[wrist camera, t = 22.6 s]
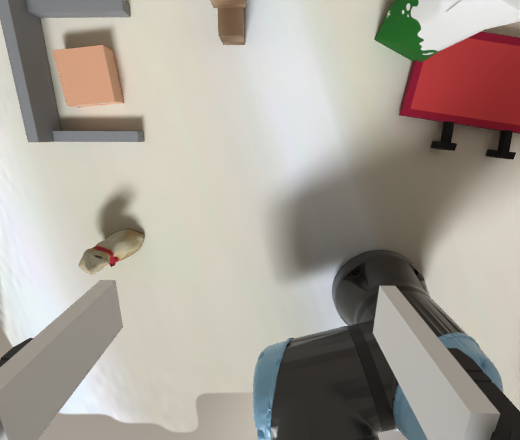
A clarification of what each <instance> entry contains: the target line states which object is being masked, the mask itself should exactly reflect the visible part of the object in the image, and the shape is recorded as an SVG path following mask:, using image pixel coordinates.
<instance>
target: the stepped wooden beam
mask: <svg viewBox="0 0 520 440" xmlns="http://www.w3.org/2000/svg"><path fill="white" fill-rule="evenodd" d="M210 1H211V3H212V5H213V7H214V8H218V30H219V37H220V39H221V41H222V43H223V45H245V7H246V0H210Z"/></svg>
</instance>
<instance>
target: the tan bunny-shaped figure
mask: <svg viewBox="0 0 520 440" xmlns="http://www.w3.org/2000/svg"><path fill="white" fill-rule="evenodd" d="M143 240H144V234H143V233H138V232H136V231H134V230H131V229H126V230H121V231H118V232H115V233H114V234H112V235H111V236H109V237H108V238H107V239H105V240H104V241H102V242H100V243H98V244H97V245H96V246H95V247H93V248H91V249H88V250H86V251H85V252H84V255H83V257H82V259H81V261H80V263H79V267H80V268H81V269H82V270H83V271H85V272H86V273H89V274H90V275H93V274H95V273H96V272H98V271H100V270H101V269H102V268H104V266H106V265H107V264H110V266H111V267H112V266H114V265H115V263H116V262H118V261H121V260H123V259H125V258H127V257H129V256H131V255H132V254H134V253H135V252H136V251H138V250H139V249H140V247H141V246H142V243H143Z"/></svg>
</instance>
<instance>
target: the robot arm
mask: <svg viewBox="0 0 520 440" xmlns="http://www.w3.org/2000/svg"><path fill="white" fill-rule="evenodd" d="M332 296H333V301H334V304H335V307H336V309H337V312H338V314H339V315H340V317H341V318H342V320H343V321H344V322H345V323H346V324H347V325H348V326H344V327H340V328H336V329H332V330H328V331H324V332H320V333H316V334H312V335H308V336H304V337H299V338H295V339H294V338H289V339H288V340H287V341H284V342H281V343H278V344H274V345H271V346H268V347H267V348H265V349H264V350H263V351H262V352H261V354H260V356H259V358H258V361H257V364H256V368H255V373H254V383H253V408H254V419H255V426H256V428H257V430H258V440H379V438H378V433H379V432H383V431H388V430H393V429H399V431H401V433H402V434H403V435H404V436H405V437H406V438H407V439H408V440H520V411H519V410H518V409H517V408H516V407H515V406H514V405H513V404H512V402H511V401H510V400H509V399H508V398H507V397H506V396H505V395H504V394H503V386H502V381H501V378H500V375H499V373H498V371H497V369H496V367H495V366H494V365H493V363H492V362H491V361H490V360H489V358H488V357H487V356H486V355H485V354H484V353H483V351H482V350H481V349H480V347H479V345H478V344H477V343H476V341H475V340H474V339H473V338H472V337H470V336H468V335H467V334H466V333H465V332H464V331H463V330H462V329H461V328H460V327H459V326H458V325H457V324H456V323H455V322H454V321H453V320H452V319H451V318H450V317H449V316H448V315H447V314H446V313H445V312H444V311H443V310H442V309H441V308H440V307H439V306H438V305H437V304H436V303H435V302H434V301H433V300H432V299H431V298H430V296H429V293H428V290H427V287H426V284H425V281H424V278H423V276H422V274H421V273H420V271H419V270H418V269H417V268H416V267H415V266H414V265H413V264H412V263H411V262H410V261H409V260H408V259H406V258H405V257H403V256H402V255H400V254H397V253H395V252H391V251H384V250H377V251H370V252H366V253H363V254H360V255H358V256H356V257H354V258H353V259H351V260H350V261H348V262H347V263H346V264H345V265H344V266H343V267H342V268H341V269H340V271H339V272H338V274H337V276H336V278H335V280H334V283H333V288H332ZM122 327H123V324H122V318H121V312H120V306H119V300H118V294H117V287H116V281H115V280H100V281H99V282H98V283H97V284H95V285H94V286H93V287H92V288H91V289H90V290H89V291H87V292H86V293H85V294H84V295H83V296H82V297H81V298H79V299H78V300H77V301H76V302H75V303H74V304H73V305H71V306H70V307H69V308H68V309H67V310H66V311H64V312H63V313H62V314H61V315H60V316H59V317H58V318H56V319H55V320H54V321H53V322H52V323H51V324H50V325H48V326H47V327H46V328H45V329H44V330H43V331H41V332H40V333H39V334H38V335H37V336H36V337H35V338H29V339H27V340H25V341H24V342H22V343H20V344H18V345H17V346H15V347H13V348H12V349H11V350H10V351H8V352H7V353H6V354H5V355H4V356H3V357H1V360H0V440H38V438H39V437H40V436H41V435H42V433H43V432H44V431H45V429H46V428H47V427H48V425H49V424H50V423H51V421H52V420H53V419H54V417H55V416H56V415H57V413H58V412H59V411H60V409H61V408H62V407H63V405H64V404H65V403H66V401H67V400H68V399H69V398H70V396H71V395H72V394H73V392H74V391H75V390H76V388H77V387H78V386H79V384H80V383H81V382H82V380H83V379H84V378H85V376H86V375H87V374H88V372H89V371H90V370H91V368H92V367H93V366H94V364H95V363H96V362H97V360H98V359H99V358H100V357H101V355H102V354H103V353H104V351H105V350H106V349H107V347H108V346H109V345H110V343H111V342H112V341H113V339H114V338H115V337H116V335H117V334H118V333H119V331H120V330H121V329H122Z"/></svg>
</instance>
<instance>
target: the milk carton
mask: <svg viewBox="0 0 520 440" xmlns="http://www.w3.org/2000/svg"><path fill="white" fill-rule="evenodd" d="M515 22H520V0H394V1H393V3H392V5H391V7H390V9H389V11H388V13H387V15H386V17H385V19H384V21H383V23H382V25H381V27H380V29H379V31H378V34H377V36H376V38H375V40H376V41H378V42H379V43H381V44H383V45H385V46H387V47H388V48H390V49H392V50H394V51H395V52H397V53H399V54H401V55H403V56H404V57H406V58H408V59H410V60H411V61H414V60H417V61H419V62H422V61H424V60H426V59H428V58H430V57H431V56H433V55H435V54H436V53H438V52H440V51H442V50H443V49H445V48H447V47H450V46H452V45H454V44H456V43H458V42H460V41H462V40H464V39H466V38H468V37H470V36H473V35H475V34H477V33H479V32H481V31H483V30H485V29H489V28H494V27H498V26H502V25H507V24H511V23H515Z"/></svg>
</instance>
